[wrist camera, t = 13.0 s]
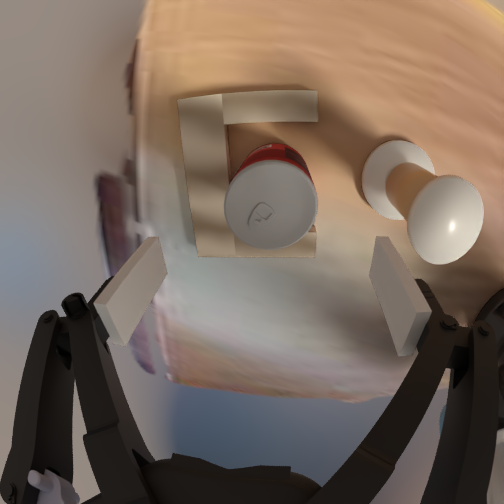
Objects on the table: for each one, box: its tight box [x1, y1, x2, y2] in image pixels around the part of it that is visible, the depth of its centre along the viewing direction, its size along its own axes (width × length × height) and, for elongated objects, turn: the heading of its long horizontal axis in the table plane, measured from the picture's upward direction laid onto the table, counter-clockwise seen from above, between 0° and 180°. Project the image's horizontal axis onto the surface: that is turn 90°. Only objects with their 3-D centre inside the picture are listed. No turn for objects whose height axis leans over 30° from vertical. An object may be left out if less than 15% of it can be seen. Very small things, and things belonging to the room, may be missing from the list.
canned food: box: [224, 144, 318, 250], centre depth 27 cm, size 8×8×11 cm
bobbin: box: [361, 140, 484, 264], centre depth 24 cm, size 10×10×13 cm
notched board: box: [177, 90, 318, 257], centre depth 31 cm, size 20×15×2 cm
